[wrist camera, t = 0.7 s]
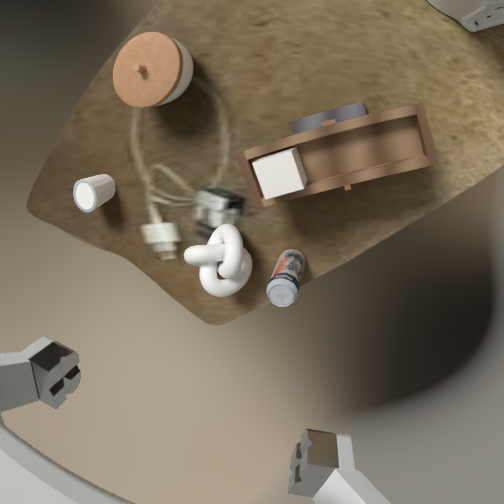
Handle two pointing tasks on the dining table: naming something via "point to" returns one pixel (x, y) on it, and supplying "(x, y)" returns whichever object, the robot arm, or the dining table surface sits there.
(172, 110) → the dining table surface
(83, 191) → the shot glass
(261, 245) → the dining table surface
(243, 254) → the white knot sculpture
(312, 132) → the brown wooden tray
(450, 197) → the dining table surface
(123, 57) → the lidded bowl
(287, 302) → the beer can
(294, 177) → the white block
